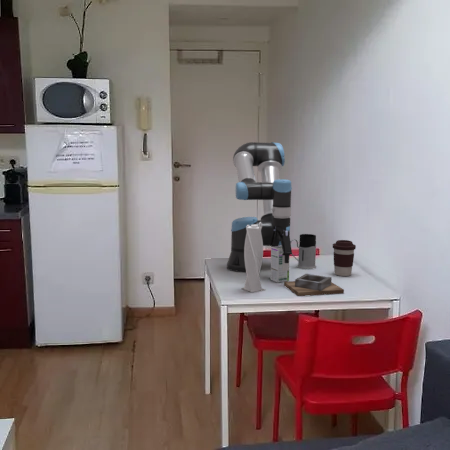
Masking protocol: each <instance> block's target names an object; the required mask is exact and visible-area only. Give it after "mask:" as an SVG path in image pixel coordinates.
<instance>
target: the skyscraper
mask: <svg viewBox="0 0 450 450" xmlns="http://www.w3.org/2000/svg"><path fill="white" fill-rule="evenodd" d="M260 223H261V222H260ZM260 223H259V227H258V225H251V226H249V225H247V226H248V227H247V226H246V230H247V233H246V239H245V246H244V260H245V268H246V272H245V273H246V277H245V281H244V286H243V287H242V288H241V289H242V290H244V291H247V292H249V293H259V292H263V291H266V289H264V288H263V287H262V283H261V279H260V278H261V277H260V271H261V269H262V265H263V258H264V257H263V256H264V246H263V241H262V235H261V229H262V223H261V227H260Z"/></svg>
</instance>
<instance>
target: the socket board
mask: <svg viewBox="0 0 450 450" xmlns="http://www.w3.org/2000/svg"><path fill="white" fill-rule="evenodd" d="M283 287H285V288H287V289H288V290H289V291H291V292H292V293H293V294H295V295H296V296H297V297H303V296H304V297H306V296H305V295H310V296H323V295H324V294H326V295H339V294H345V289H344V288H343V287H340V286H339V285H337V284H336V283H333V282H332V277H330V276H326V275H325V276H323V275H318V274H311V273H305V274H302V275H301V276H299V277H297V278H295V279H294V280H291V281H290V280H289V281H284V282H283ZM324 296H325V295H324Z"/></svg>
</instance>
